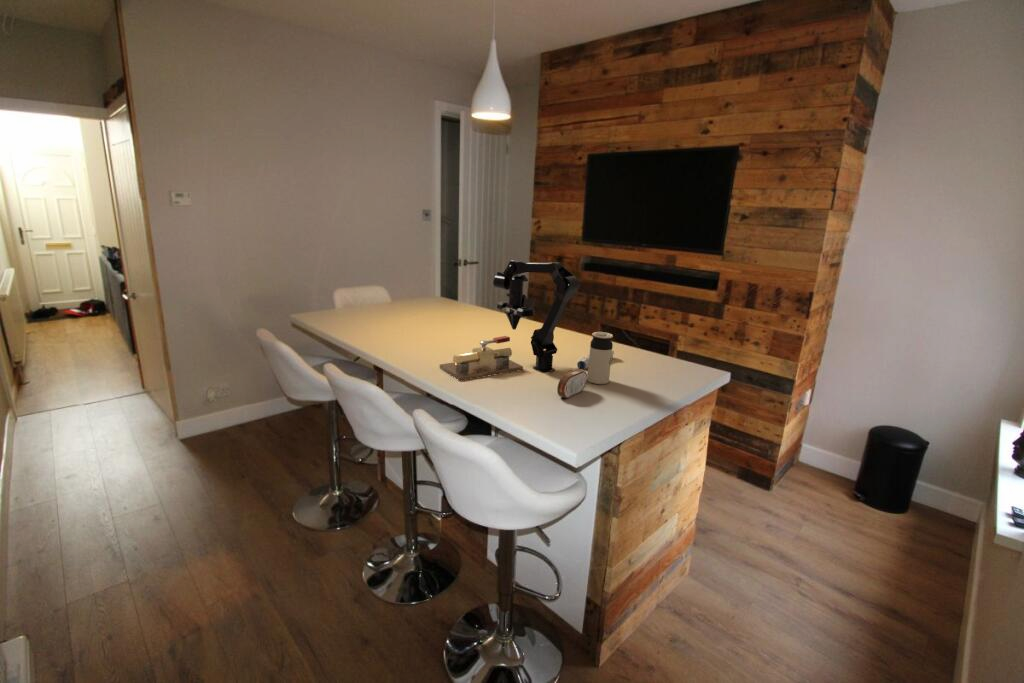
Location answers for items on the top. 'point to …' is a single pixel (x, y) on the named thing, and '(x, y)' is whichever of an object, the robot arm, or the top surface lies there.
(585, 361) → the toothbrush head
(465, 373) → the valve
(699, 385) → the top surface
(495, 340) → the lever
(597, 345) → the travel mug
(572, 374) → the tin
